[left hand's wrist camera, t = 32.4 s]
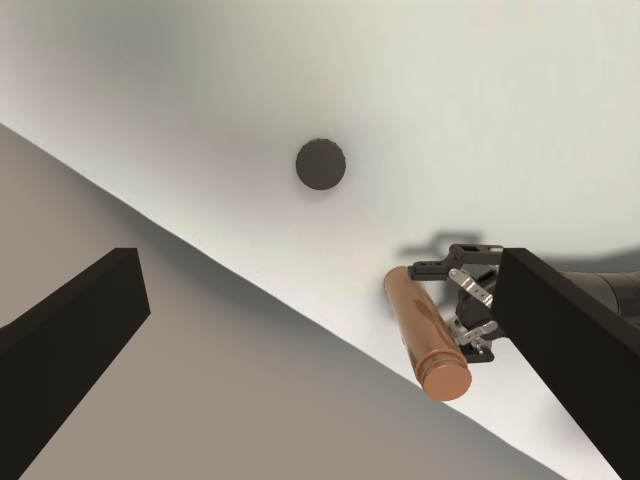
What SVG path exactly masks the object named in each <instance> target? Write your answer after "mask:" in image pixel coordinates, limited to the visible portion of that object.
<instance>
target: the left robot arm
mask: <svg viewBox="0 0 640 480" xmlns="http://www.w3.org/2000/svg"><path fill="white" fill-rule="evenodd" d="M150 314H151V312H150V307H149V303H148V298H147V293H146V289H145V284H144V279H143V275H142V270H141V265H140V261H139V256H138V251H137V248H115V249H113V250H112V251H110V252H109V253H108V254H106V255H105V256H103V257H102V258H101V259H99V260H98V261H96V262H95V263H94V264H92V265H91V266H89V267H88V268H87V269H85V270H84V271H83V272H81V273H80V274H78V275H77V276H76V277H74V278H73V279H71V280H70V281H69V282H67V283H66V284H64V285H63V286H62V287H60V288H59V289H57V290H56V291H55V292H53V293H52V294H50V295H49V296H48V297H46V298H45V299H44V300H42V301H41V302H39V303H38V304H37V305H35V306H34V307H32V308H31V309H30V310H28V311H27V312H25V313H24V314H23V315H21V316H20V317H18V318H17V319H16V320H14V321H13V322H11V323H10V324H8V325H6V326H4V327H2V328H0V480H18V479H19V478H20V477H21V475H22V474H23V473H24V472H25V470H26V469H27V468H28V467H29V465H30V464H31V463H32V462H33V460H34V459H35V458H36V457H37V455H38V454H39V453H40V452H41V450H42V449H43V448H44V447H45V445H46V444H47V443H48V442H49V440H50V439H51V438H52V437H53V435H54V434H55V433H56V432H57V430H58V429H59V428H60V427H61V425H62V424H63V423H64V422H65V420H66V419H67V418H68V416H69V415H70V414H71V413H72V411H73V410H74V409H75V408H76V406H77V405H78V404H79V403H80V401H81V400H82V399H83V398H84V396H85V395H86V394H87V393H88V391H89V390H90V389H91V388H92V386H93V385H94V384H95V383H96V381H97V380H98V379H99V378H100V376H101V375H102V374H103V373H104V371H105V370H106V369H107V368H108V366H109V365H110V364H111V363H112V361H113V360H114V359H115V358H116V356H117V355H118V354H119V353H120V351H121V350H122V349H123V347H124V346H125V345H126V344H127V342H128V341H129V340H130V339H131V337H132V336H133V335H134V334H135V332H136V331H137V330H138V329H139V327H140V326H141V325H142V324H143V322H144V321H145V320H146V319H147V317H148V316H149V315H150ZM489 314H490V315H491V316H492V317H493V319H494V320H495V321H496V322H497V324H498V325H499V326H500V327H501V329H502V330H503V331H504V332H505V334H506V335H507V336H508V337H509V339H510V340H511V341H512V342H513V344H514V345H515V346H516V348H517V349H518V350H519V351H520V353H521V354H522V355H523V356H524V358H525V359H526V360H527V361H528V363H529V364H530V365H531V366H532V368H533V369H534V370H535V371H536V373H537V374H538V375H539V376H540V378H541V379H542V380H543V381H544V383H545V384H546V385H547V386H548V388H549V389H550V390H551V391H552V393H553V394H554V395H555V396H556V398H557V399H558V400H559V401H560V403H561V404H562V405H563V406H564V408H565V409H566V410H567V411H568V413H569V414H570V415H571V416H572V418H573V419H574V420H575V422H576V423H577V424H578V425H579V427H580V428H581V429H582V430H583V432H584V433H585V434H586V435H587V437H588V438H589V439H590V440H591V442H592V443H593V444H594V445H595V447H596V448H597V449H598V450H599V452H600V453H601V454H602V455H603V457H604V458H605V459H606V460H607V462H608V463H609V464H610V465H611V467H612V468H613V469H614V470H615V472H616V473H617V474H618V475H619V477H620V478H621V479H622V480H640V327H639V326H637V325H635V324H633V323H631V322H629V321H627V320H625V319H623V318H622V317H620V316H619V315H617V314H616V313H615V312H613V311H612V310H610V309H609V308H608V307H606V306H605V305H603V304H602V303H601V302H599V301H598V300H597V299H595V298H594V297H592V296H591V295H590V294H588V293H587V292H585V291H584V290H583V289H581V288H580V287H578V286H577V285H576V284H574V283H573V282H571V281H570V280H569V279H567V278H566V277H564V276H563V275H562V274H560V273H559V272H557V271H556V270H555V269H553V268H552V267H551V266H549V265H548V264H546V263H545V262H544V261H542V260H541V259H539V258H538V257H537V256H535V255H534V254H532V253H531V252H530V251H528V250H527V249H525V248H503V251H502V256H501V261H500V265H499V270H498V275H497V279H496V284H495V289H494V293H493V298H492V302H491V307H490V312H489Z"/></svg>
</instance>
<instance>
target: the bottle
mask: <svg viewBox="0 0 640 480" xmlns="http://www.w3.org/2000/svg"><path fill="white" fill-rule="evenodd" d="M407 270H408V267H398V268H395V269H393V270H391V271H390V272H389V273H388V274H387V276H386V278H385V280H384V287H385V290H386V293H387V296H388V298H389V301H390V304H391V307H392V310H393V313H394V316H395V319H396V321H397V324H398V327H399V330H400V333H401V336H402V339H403V342H404V345H405V347H406V350H407V353H408V356H409V359H410V362H411V365H412V368H413V370H414V373H415V376H416V379H417V381H418V382H419V383H420V384H421V386H422V388H423V390H424V391H425V392H426V394H427V395H428V396H430V397H431V398H433V399H435V400H439V401H450V400H454V399H456V398H459V397H460V396H462V395H463V394H464V393H465V392H466V391H467V390H468V389H469V387H470V384H471V382H472V376H471V373H470V371H469V370H468V366H467V361H466V359H465V357H464V355H463V353H462V352H461V350H460V348H459V346H458V345H457V343H456V341H455V339H454V338H453V336H452V334H451V332H450V330H449V329H448V327H447V325H446V323H445V322H444V320H443V318H442V316H441V314H440V313H439V311H438V309H437V307H436V306H435V304H434V302H433V300H432V299H431V297H430V295H429V293H428V291H427V290H426V288H425V286H424V284H423V283H422V281H413V280H411V279H410V278H409V276H408V274H407Z"/></svg>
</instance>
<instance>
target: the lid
mask: <svg viewBox="0 0 640 480" xmlns="http://www.w3.org/2000/svg"><path fill="white" fill-rule="evenodd" d="M296 168H297V173H298V175H299V177H300V179H301V180H302V182H303V183H304V184H305V185H307V186H308V187H310V188H312V189H316V190H326V189H329V188H332V187H334V186H335V185H336V184H338V183H339V181H340V180H341V179H342V177H343V176H344V172H345V168H346V164H345V157H344V155H343V153H342V150H341V149H340V148H339V147H338V146H337V145H336V143H333V142H332V141H330V140H328V139H327V140H326V139H319V138H318V139H316V140H312V141H310V142H308V143H307V144H306V145H305V146H303V148H302V149H301V151H300V153H298V158H297V161H296Z"/></svg>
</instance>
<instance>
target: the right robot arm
mask: <svg viewBox="0 0 640 480" xmlns="http://www.w3.org/2000/svg"><path fill="white" fill-rule="evenodd" d="M502 251H503V247H502V246H499V245H473V244H453V245H451V246H450V247H449V254H448V256H447V258H446V259H445V260H443V261H428V262H427V261H424V262H423V261H420V262H416V263H413V266H408V270H407V274H408V276H409V278H410V279H411V280H413V281H439V280H447V277H450V278H451V279H452V280H454V281H455V282H456V283H458V284H459V285H460V286H462V287H463V288H462V289H461V290H459V293H458V298H459V303H458V305H457V307H456V316H455V317H453V318H451V319H450V320H448V322H447V324H446V325H447V327H448V329H449V330H450V332H451V334H453V335H452V336H453V338H454V339H455V341H456V343H457V345H458V346H459V348H460V350H461V352H462V353H463V355H464V357H465V359H466V361H467V363H483V362H491V361H493V360H494V355H493V353H492V352H491V345H492V341H493V340H495V339H498V338H501V337H506V338H509V337H508V336H507V335H506V334H505V332H504V331H503V330H502V329H501V327H500V326H499V325H498V324H497V322H496V321H495V320H494V319H493V317H492V316H491V315H490V314H489V312H490V307H491V302H492V298H493V293H494V289H495V284H496V279H497V275H498V270H499V265H500V261H501V256H502ZM463 264H486V265H488V266H489V267H490V268H492V269H493V270H490V271H488V272H486V273H485V274H483V275H481V276H480V277H478V278H475V277H474V276H472V275H471V274H470V273H468V272H467V271H466V270H464V269H463V268H461V267H462V265H463ZM557 272H559V273H560V274H562V275H563V276H564V277H566V278H567V279H569V280H570V281H571V282H573V283H574V284H576V285H577V286H578V287H580V288H581V289H583V290H584V291H585V292H587V293H588V294H590V295H591V296H592V297H594V298H595V299H597V300H598V301H599V302H601V303H602V304H603V305H605V306H606V307H608V308H609V309H610V310H612V311H613V312H615V313H616V314H617V315H619V316H620V317H622V318H623V319H625V320H627V321H629V322H631V323H633V324H635V325H637V326H639V327H640V270H639V271H634V272H628V273H614V272H613V273H582V272H574V271H558V270H557ZM462 325H463V326H464V327H465V328H466V329H467V330H466V331H464V332H461V331H460V326H462ZM478 337H480V338H478ZM476 338H478V339H476ZM475 339H476V340H475ZM402 340H403V339H402ZM403 343H404V342H403Z"/></svg>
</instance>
